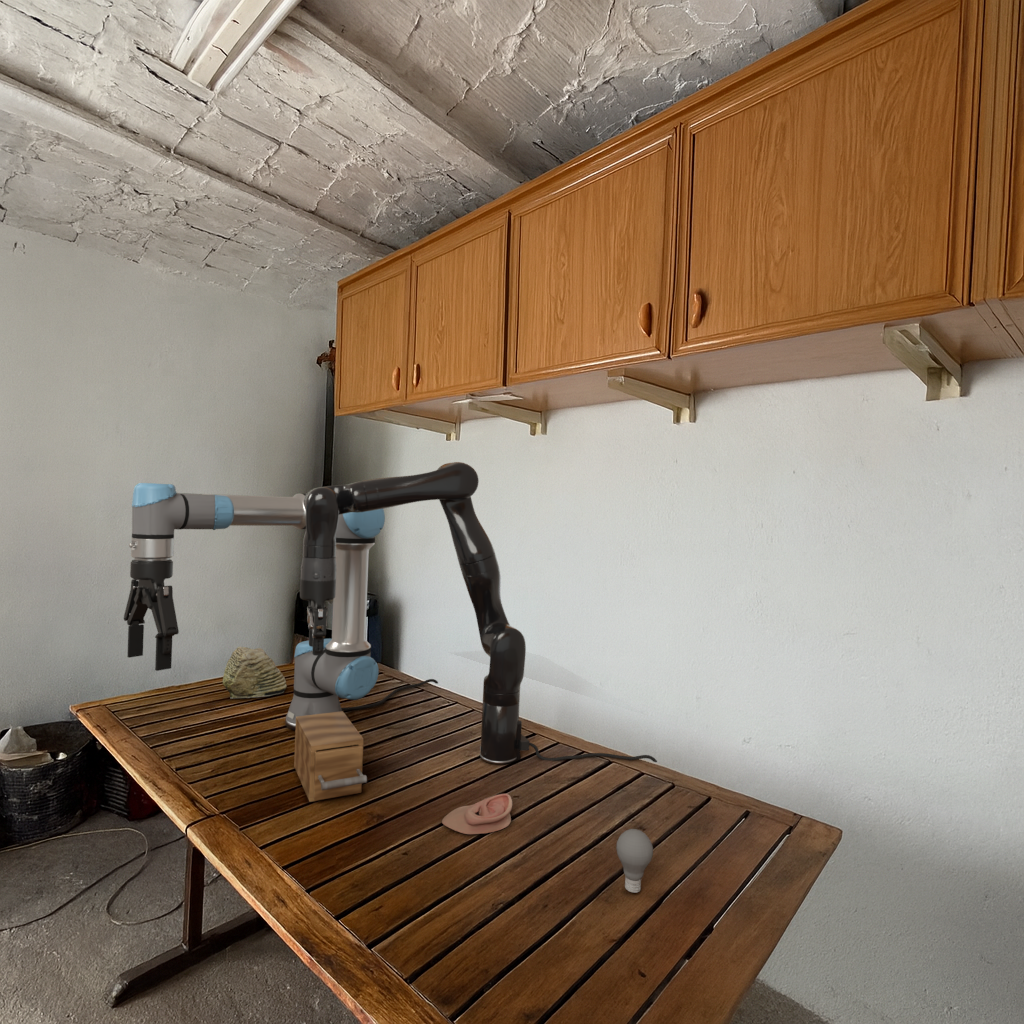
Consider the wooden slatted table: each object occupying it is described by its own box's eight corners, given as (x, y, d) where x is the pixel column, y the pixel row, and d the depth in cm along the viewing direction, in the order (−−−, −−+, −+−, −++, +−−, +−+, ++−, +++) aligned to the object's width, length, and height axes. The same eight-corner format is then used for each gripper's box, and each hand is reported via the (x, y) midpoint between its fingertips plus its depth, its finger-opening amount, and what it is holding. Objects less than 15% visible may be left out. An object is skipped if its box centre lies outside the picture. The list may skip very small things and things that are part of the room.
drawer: (367, 803, 130) (369, 756, 130) (319, 812, 125) (321, 764, 125) (341, 760, 150) (343, 719, 150) (299, 766, 146) (300, 725, 145)
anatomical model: (437, 809, 122) (454, 783, 133) (436, 829, 122) (453, 802, 133) (504, 819, 119) (516, 792, 131) (503, 840, 119) (515, 811, 131)
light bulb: (610, 879, 108) (613, 822, 108) (644, 879, 109) (647, 822, 109) (619, 902, 102) (622, 840, 102) (655, 901, 103) (658, 840, 103)
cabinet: (361, 792, 136) (363, 738, 136) (309, 802, 131) (311, 746, 131) (341, 759, 153) (342, 711, 153) (293, 766, 148) (295, 716, 148)
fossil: (218, 695, 195) (220, 647, 195) (278, 685, 208) (279, 640, 207) (228, 703, 189) (230, 653, 188) (289, 692, 201) (290, 645, 201)
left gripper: (108, 554, 134) (104, 654, 134) (159, 565, 118) (155, 678, 119) (146, 552, 140) (143, 648, 140) (199, 563, 124) (195, 671, 124)
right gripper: (340, 581, 135) (337, 657, 135) (332, 573, 148) (329, 642, 148) (303, 581, 132) (300, 659, 132) (298, 573, 145) (295, 643, 145)
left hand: (148, 662), depth 129 cm, fingers open, 13 cm apart
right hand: (315, 650), depth 140 cm, fingers open, 8 cm apart
